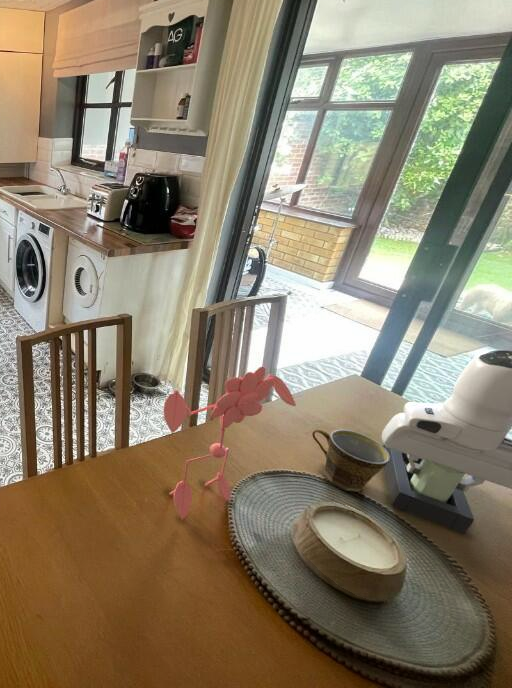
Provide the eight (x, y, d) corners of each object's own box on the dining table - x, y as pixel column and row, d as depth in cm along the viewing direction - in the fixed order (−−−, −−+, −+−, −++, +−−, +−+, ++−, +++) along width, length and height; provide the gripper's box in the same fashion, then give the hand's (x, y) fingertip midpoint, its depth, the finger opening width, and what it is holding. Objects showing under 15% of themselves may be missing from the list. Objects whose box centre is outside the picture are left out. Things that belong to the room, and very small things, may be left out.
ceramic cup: (376, 482, 91) (395, 448, 87) (364, 506, 85) (383, 471, 81) (309, 448, 100) (323, 416, 96) (293, 468, 94) (308, 435, 90)
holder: (441, 469, 94) (449, 456, 93) (464, 533, 80) (474, 519, 78) (380, 449, 100) (387, 436, 98) (391, 505, 85) (399, 492, 84)
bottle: (437, 497, 87) (472, 444, 81) (443, 517, 83) (481, 463, 77) (401, 484, 90) (432, 432, 84) (405, 503, 86) (438, 449, 80)
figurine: (133, 499, 86) (162, 359, 71) (233, 474, 93) (279, 340, 78) (180, 570, 73) (228, 415, 58) (293, 535, 79) (363, 387, 64)
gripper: (542, 440, 75) (503, 493, 81) (396, 399, 86) (370, 449, 92) (557, 462, 70) (514, 517, 76) (400, 415, 81) (373, 466, 87)
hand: (434, 479), depth 84 cm, fingers closed on bottle, 6 cm apart
